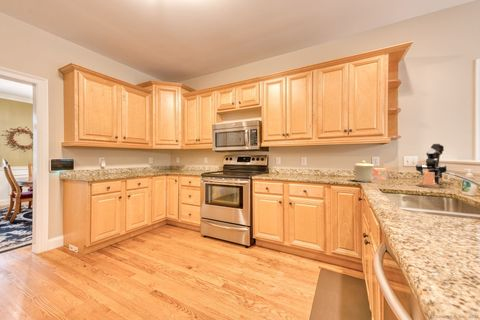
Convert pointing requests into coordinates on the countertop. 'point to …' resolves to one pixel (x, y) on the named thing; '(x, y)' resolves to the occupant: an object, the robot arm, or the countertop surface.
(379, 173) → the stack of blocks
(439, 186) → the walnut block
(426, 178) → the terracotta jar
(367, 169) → the canister
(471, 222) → the countertop surface
